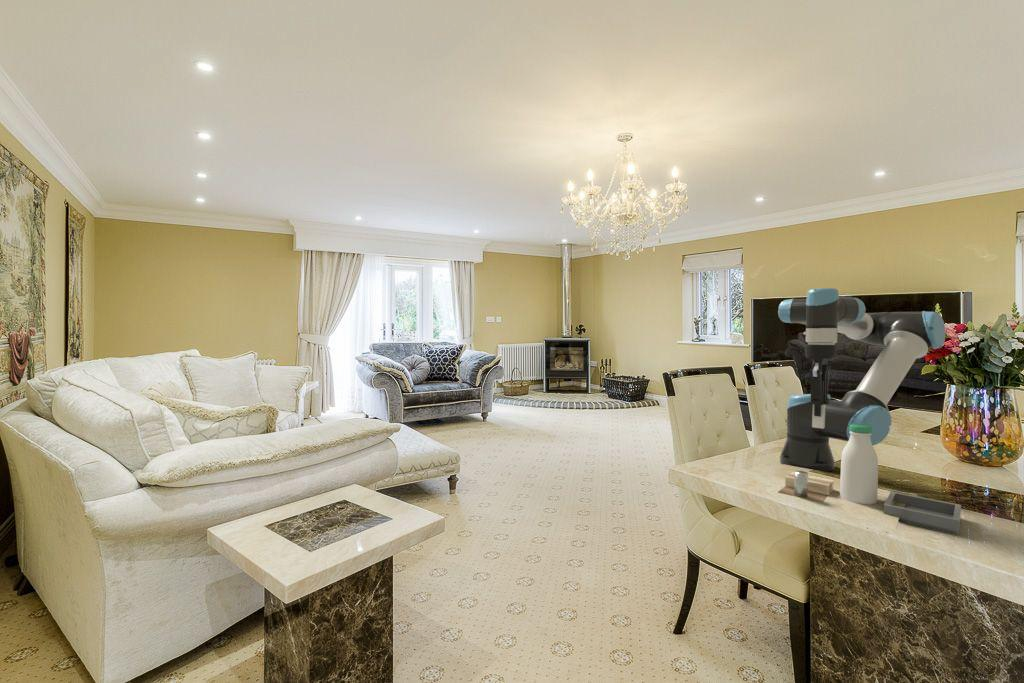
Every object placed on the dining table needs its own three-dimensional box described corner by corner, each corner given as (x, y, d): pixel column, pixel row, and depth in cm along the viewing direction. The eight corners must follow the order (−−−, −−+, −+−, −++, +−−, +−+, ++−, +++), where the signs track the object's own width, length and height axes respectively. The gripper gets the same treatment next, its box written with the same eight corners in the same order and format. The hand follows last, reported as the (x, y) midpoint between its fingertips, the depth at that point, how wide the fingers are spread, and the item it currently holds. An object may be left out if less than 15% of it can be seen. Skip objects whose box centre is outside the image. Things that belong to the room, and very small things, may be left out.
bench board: (791, 484, 137) (792, 480, 137) (833, 493, 130) (833, 489, 130) (777, 496, 128) (777, 492, 128) (821, 506, 121) (821, 502, 121)
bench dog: (795, 492, 127) (796, 470, 127) (808, 495, 125) (809, 472, 125) (792, 495, 125) (793, 472, 125) (805, 498, 123) (806, 475, 123)
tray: (890, 503, 123) (891, 491, 123) (960, 518, 114) (960, 504, 114) (883, 518, 114) (883, 504, 114) (958, 535, 105) (959, 520, 105)
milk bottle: (883, 510, 119) (886, 429, 118) (848, 507, 120) (850, 427, 120) (867, 499, 126) (869, 422, 126) (834, 496, 128) (836, 421, 127)
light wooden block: (791, 481, 137) (791, 472, 137) (833, 489, 130) (833, 480, 130) (785, 486, 133) (785, 476, 133) (828, 495, 126) (828, 485, 126)
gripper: (811, 342, 143) (809, 422, 144) (799, 343, 134) (796, 428, 135) (841, 343, 138) (839, 425, 139) (831, 344, 129) (828, 433, 129)
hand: (818, 427), depth 137 cm, fingers closed
